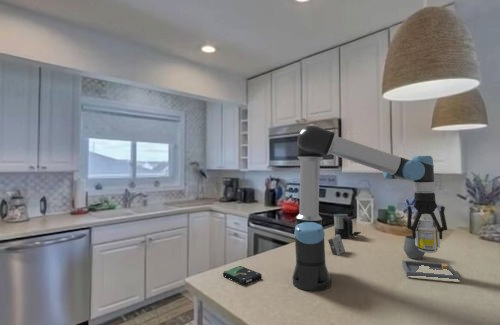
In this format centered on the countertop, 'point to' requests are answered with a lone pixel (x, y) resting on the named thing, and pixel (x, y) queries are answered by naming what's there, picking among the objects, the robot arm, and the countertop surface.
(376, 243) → the countertop surface
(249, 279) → the disk drive
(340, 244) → the electrical switch
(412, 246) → the cup
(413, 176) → the robot arm
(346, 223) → the milk frother
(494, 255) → the countertop surface
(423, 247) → the supplement bottle
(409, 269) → the grey tray
